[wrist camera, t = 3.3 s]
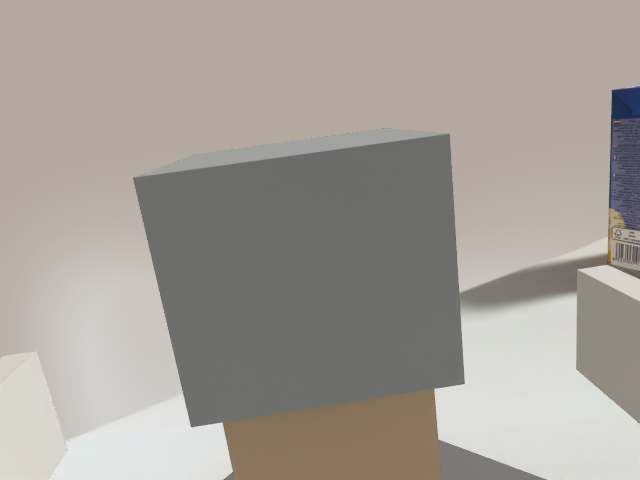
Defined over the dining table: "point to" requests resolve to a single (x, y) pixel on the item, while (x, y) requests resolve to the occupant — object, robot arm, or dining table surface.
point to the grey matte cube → (307, 271)
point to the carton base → (340, 441)
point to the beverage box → (625, 180)
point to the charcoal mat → (470, 466)
